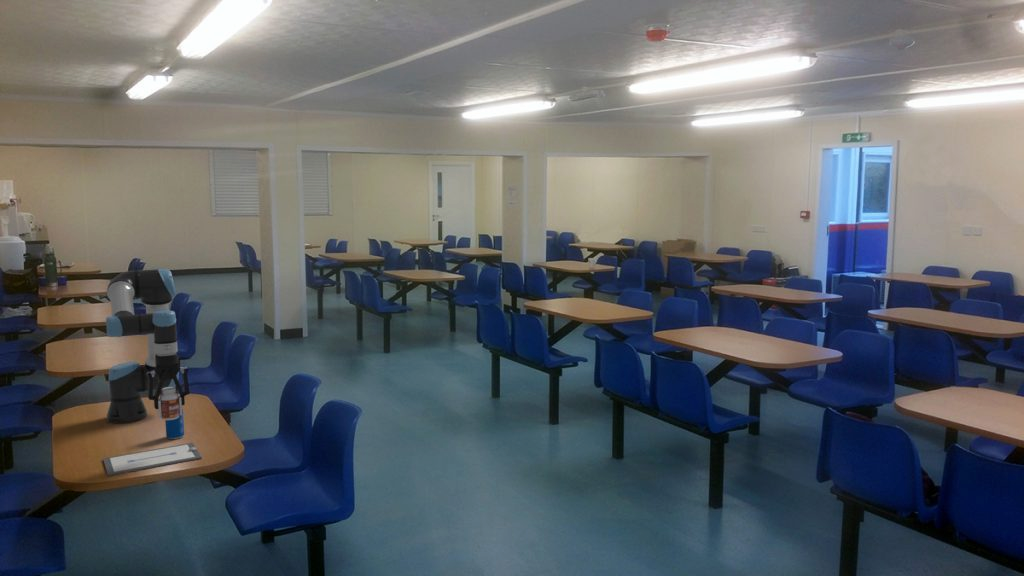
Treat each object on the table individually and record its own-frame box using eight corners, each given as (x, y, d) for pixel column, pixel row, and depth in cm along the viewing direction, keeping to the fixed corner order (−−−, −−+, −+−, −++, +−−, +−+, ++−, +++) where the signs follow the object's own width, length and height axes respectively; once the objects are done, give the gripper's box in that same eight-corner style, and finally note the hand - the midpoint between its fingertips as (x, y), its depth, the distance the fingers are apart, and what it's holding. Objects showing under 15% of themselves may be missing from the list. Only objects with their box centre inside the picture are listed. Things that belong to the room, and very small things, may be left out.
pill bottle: (171, 421, 264) (169, 391, 262) (157, 419, 266) (155, 390, 264) (183, 416, 270) (181, 387, 268) (169, 414, 272) (168, 385, 270)
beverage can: (177, 440, 286) (175, 410, 284) (162, 439, 287) (160, 409, 285) (188, 435, 292) (186, 405, 290) (173, 433, 293) (171, 404, 291)
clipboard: (103, 459, 265) (102, 456, 265) (192, 444, 282) (192, 440, 281) (108, 476, 250) (107, 472, 250) (201, 458, 267) (201, 455, 267)
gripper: (138, 358, 256) (142, 422, 259) (196, 352, 267) (200, 414, 270) (135, 354, 262) (139, 417, 266) (193, 348, 273) (196, 408, 276)
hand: (170, 415), depth 268 cm, fingers closed on pill bottle, 6 cm apart
